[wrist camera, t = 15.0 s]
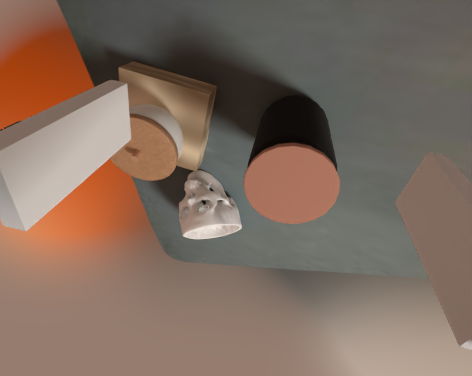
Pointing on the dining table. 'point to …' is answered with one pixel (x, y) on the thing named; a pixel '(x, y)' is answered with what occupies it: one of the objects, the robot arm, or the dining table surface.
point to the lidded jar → (150, 143)
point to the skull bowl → (207, 208)
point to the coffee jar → (292, 163)
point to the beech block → (174, 104)
